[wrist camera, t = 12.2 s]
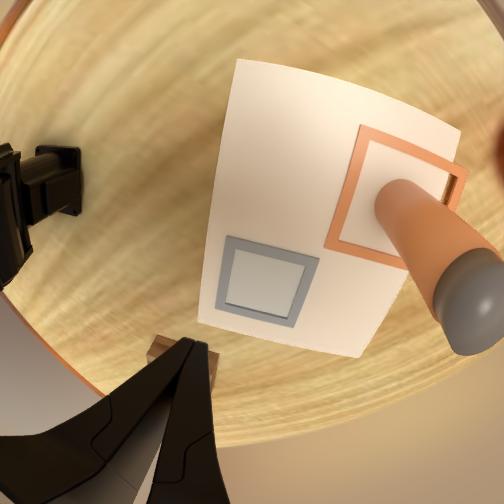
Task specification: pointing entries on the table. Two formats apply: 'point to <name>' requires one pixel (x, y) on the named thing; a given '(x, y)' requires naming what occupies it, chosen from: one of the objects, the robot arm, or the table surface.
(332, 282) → the picture sheet
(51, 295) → the table surface
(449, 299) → the marker
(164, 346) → the button base
